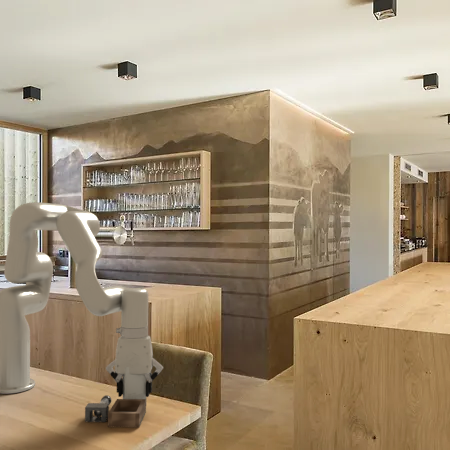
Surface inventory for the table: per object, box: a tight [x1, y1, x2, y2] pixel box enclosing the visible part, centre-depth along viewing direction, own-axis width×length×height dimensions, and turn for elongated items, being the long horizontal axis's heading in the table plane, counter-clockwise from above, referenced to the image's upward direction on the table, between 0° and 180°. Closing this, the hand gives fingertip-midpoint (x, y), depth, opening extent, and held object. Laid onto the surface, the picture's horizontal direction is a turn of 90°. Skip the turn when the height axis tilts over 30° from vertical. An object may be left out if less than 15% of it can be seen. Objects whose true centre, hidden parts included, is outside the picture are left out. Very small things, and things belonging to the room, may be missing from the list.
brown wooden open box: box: [107, 398, 147, 428], centre depth 126 cm, size 8×10×4 cm
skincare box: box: [122, 367, 147, 400], centre depth 135 cm, size 6×4×12 cm
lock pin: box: [93, 395, 112, 417], centre depth 131 cm, size 3×9×3 cm, turn 0°
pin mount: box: [84, 402, 110, 423], centre depth 126 cm, size 5×3×4 cm, turn 90°
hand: (134, 394), depth 135 cm, fingers closed on skincare box, 7 cm apart
